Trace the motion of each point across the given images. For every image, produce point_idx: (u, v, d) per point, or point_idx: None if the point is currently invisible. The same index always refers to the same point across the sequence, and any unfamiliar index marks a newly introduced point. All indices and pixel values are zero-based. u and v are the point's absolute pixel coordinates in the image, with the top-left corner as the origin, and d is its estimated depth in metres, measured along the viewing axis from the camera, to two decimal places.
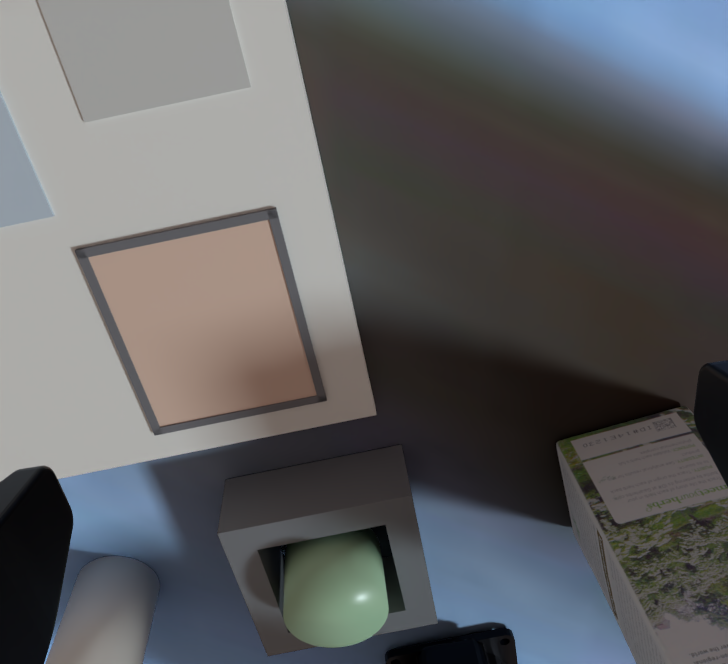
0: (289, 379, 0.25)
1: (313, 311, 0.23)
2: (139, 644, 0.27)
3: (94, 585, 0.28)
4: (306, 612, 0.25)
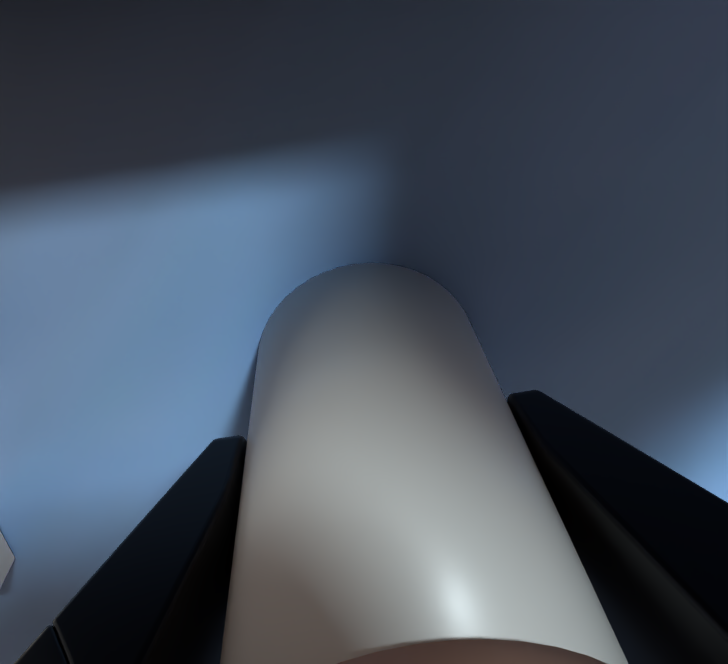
0: None
1: None
2: (357, 398, 0.07)
3: None
4: None
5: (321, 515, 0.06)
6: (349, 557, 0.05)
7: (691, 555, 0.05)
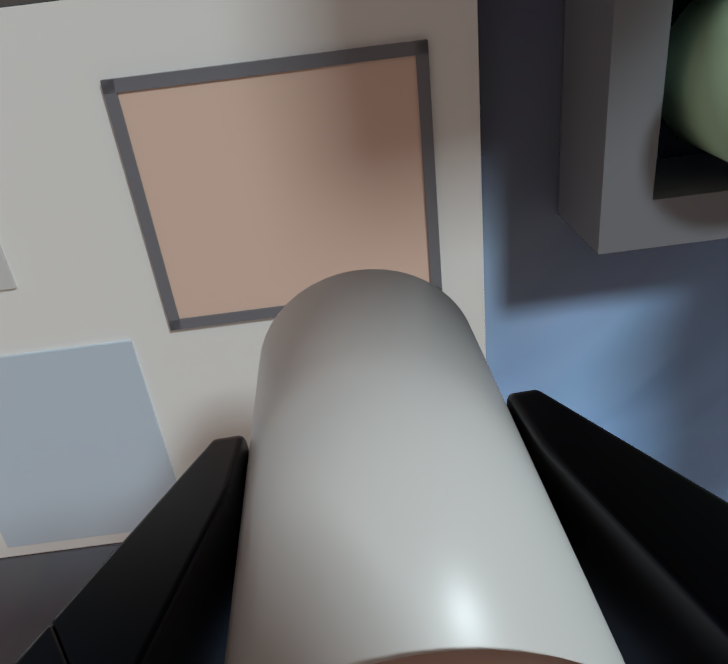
0: (382, 96, 0.16)
1: (266, 42, 0.15)
2: (359, 406, 0.07)
3: None
4: None
5: (323, 524, 0.06)
6: (353, 566, 0.05)
7: (691, 556, 0.05)
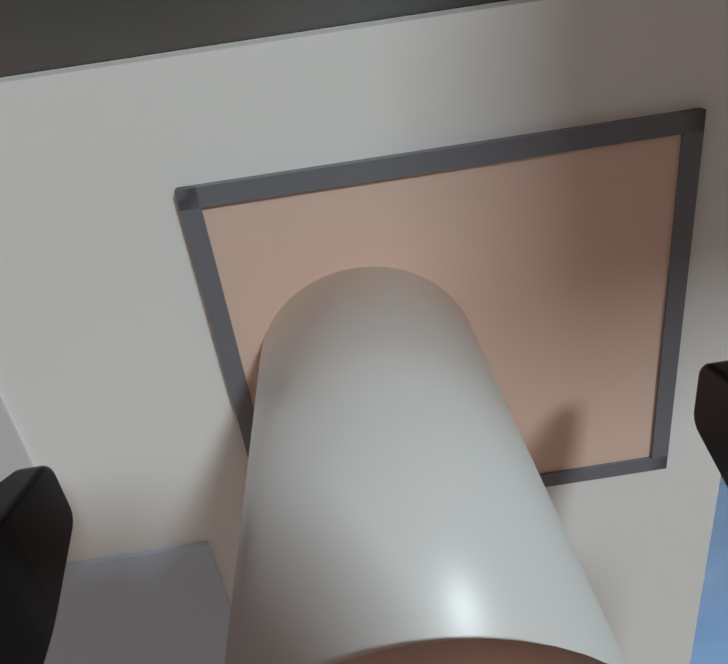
0: (617, 196, 0.10)
1: (445, 121, 0.09)
2: (359, 402, 0.07)
3: None
4: None
5: (322, 516, 0.06)
6: (351, 559, 0.05)
7: None
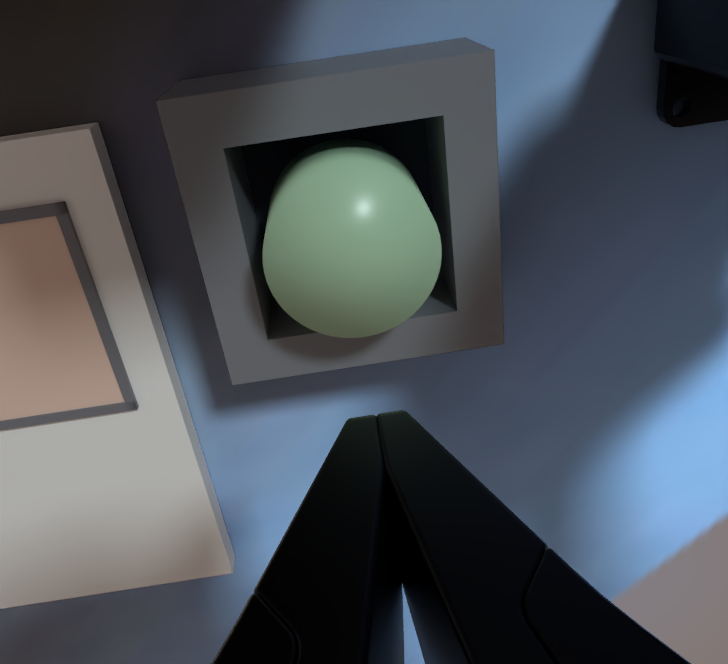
0: (37, 248, 0.18)
1: None
2: None
3: None
4: (344, 305, 0.15)
5: None
6: None
7: (475, 589, 0.05)
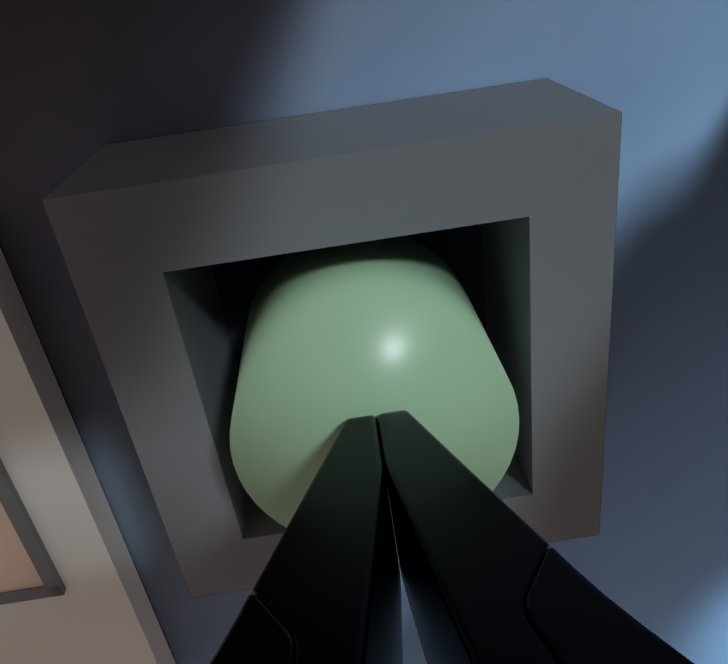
0: None
1: None
2: None
3: None
4: None
5: None
6: None
7: (478, 588, 0.05)
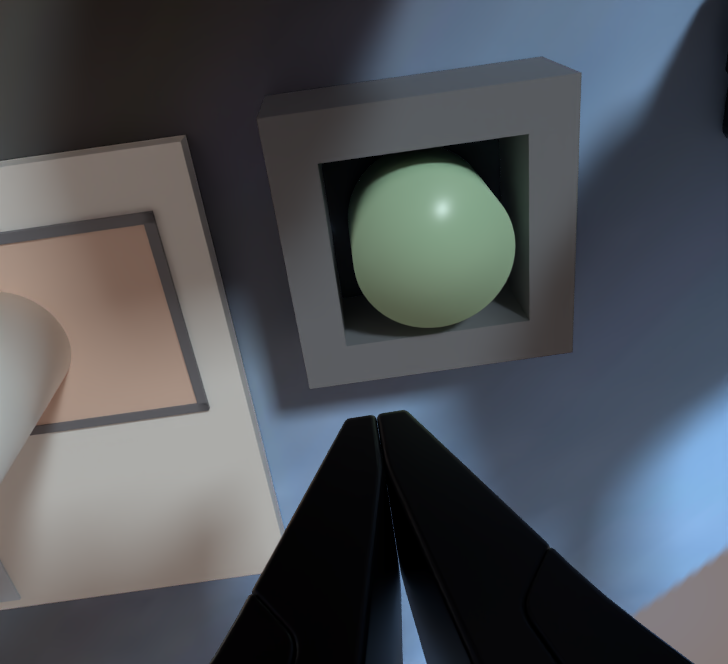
0: (123, 255, 0.19)
1: (14, 217, 0.18)
2: None
3: None
4: (423, 297, 0.17)
5: None
6: None
7: (477, 588, 0.05)
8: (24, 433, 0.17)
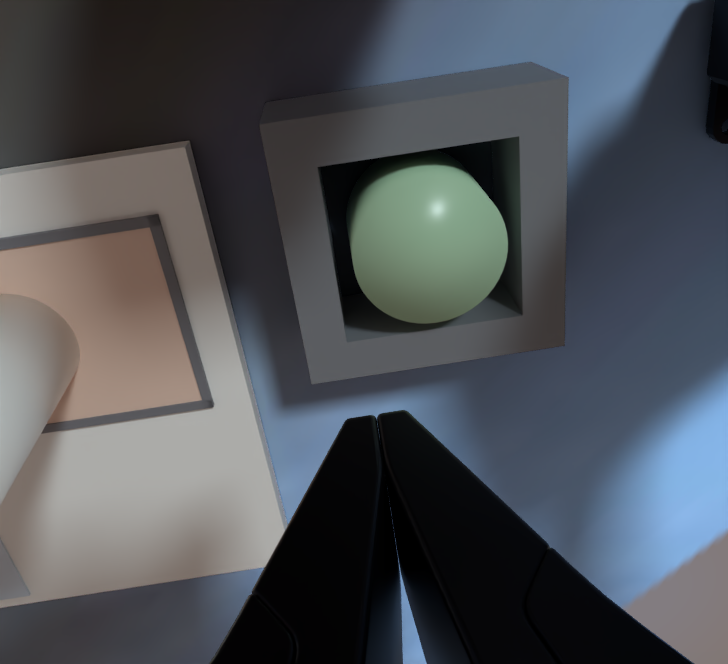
0: (130, 257, 0.19)
1: (24, 221, 0.19)
2: None
3: None
4: (420, 293, 0.18)
5: None
6: None
7: (477, 588, 0.05)
8: (37, 429, 0.17)
